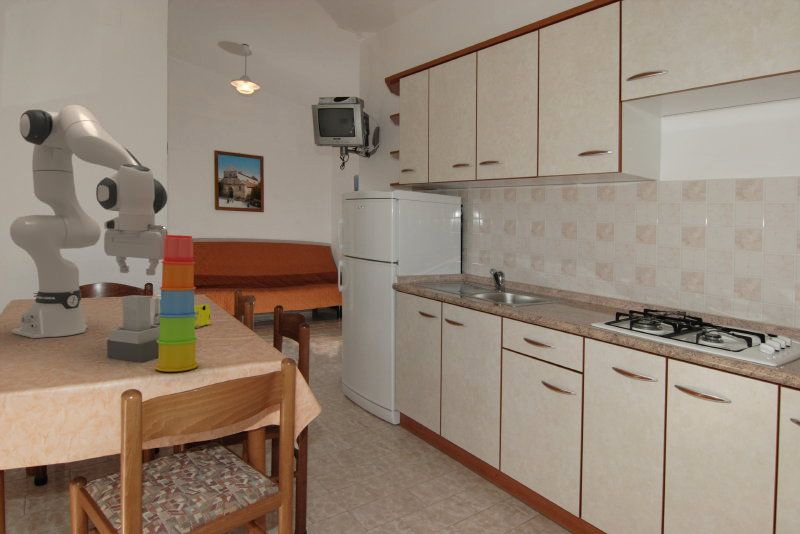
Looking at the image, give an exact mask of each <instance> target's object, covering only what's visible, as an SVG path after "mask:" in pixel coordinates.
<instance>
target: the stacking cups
mask: <svg viewBox="0 0 800 534" xmlns="http://www.w3.org/2000/svg"><path fill="white" fill-rule="evenodd" d="M160 263H162V267H161V270H162V271H161V273H162V274H161V286H160V287H159V289H160V296H161V313H159V314H158V316H160V332H159V339H158V340H157V343H159V357H158V363H157V365H155V370H157V371H159V372H167V373H171V372H174V373H175V372H184V371H185V372H186V371H189V370H193V369H196V368H198V367H199V362H198V361H196V360H197V357H196V354H197V353H196V342H197V341H198V340H199V338H198V337H197V336H196V327H195V315H196V314H197V313H196V312H194V306H195V290H196V289H197V287H196V286H195V285H194V283H195V278H194V277H195V276H194V274H195V273H194V272H195V271H194V266H195V264H196V261H194V238H193V236H192V235H181V234H176V235H175V234H168V235H166V237H165V238H164V259H162V260H161V261H160Z"/></svg>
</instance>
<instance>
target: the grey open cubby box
mask: <svg viewBox="0 0 800 534" xmlns="http://www.w3.org/2000/svg"><path fill="white" fill-rule="evenodd" d="M159 332H160V326H159V325H151V329H148V330H144V331H140V332H135V331H126V330H123V326H121V327H115V328H111V329H109V339H107V341H106V342H107V343H106V344H107V345H106V347H107V353H106V354H107V355H106V356H107V359H113V360H119V359H120V360H121V361H126V360H129V361H128V362H133V361H135V362H134V363H141V362H142V363H144V361H145V362H149V361H152V360H154V358H155V359H157V357H158V358H159V343H157V340H158V339H159ZM151 359H152V360H151Z"/></svg>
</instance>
